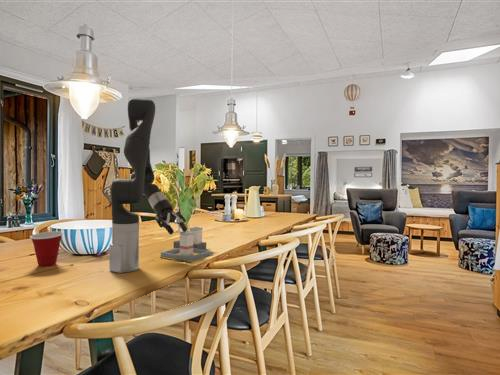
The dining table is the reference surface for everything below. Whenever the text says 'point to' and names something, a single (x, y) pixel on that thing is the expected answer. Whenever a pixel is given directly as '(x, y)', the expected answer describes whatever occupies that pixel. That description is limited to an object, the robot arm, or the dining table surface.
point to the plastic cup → (46, 247)
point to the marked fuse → (186, 243)
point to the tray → (187, 258)
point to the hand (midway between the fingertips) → (179, 232)
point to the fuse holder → (196, 246)
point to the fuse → (197, 234)
